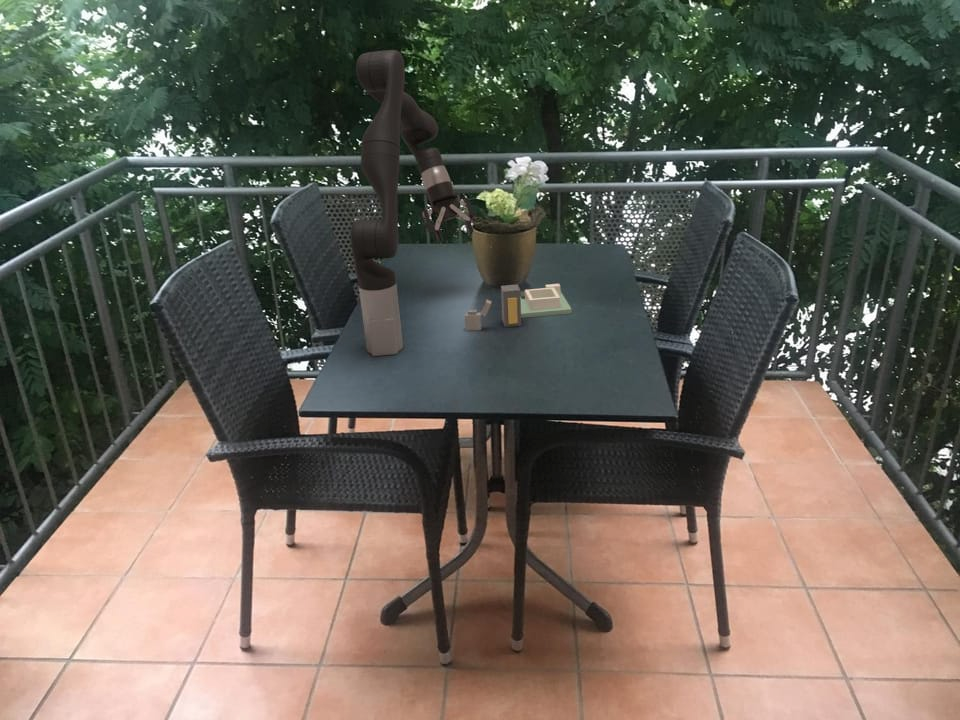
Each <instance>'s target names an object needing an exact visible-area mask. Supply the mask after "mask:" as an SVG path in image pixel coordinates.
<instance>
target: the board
mask: <svg viewBox="0 0 960 720" xmlns="http://www.w3.org/2000/svg"><path fill="white" fill-rule="evenodd" d="M520 299H521V319H523V318H533V317H544V316H545V317H546V316H556V315H557V316H558V315H566V314H567V315H569V314H572V311H573V309H572V307H571V306H570V304H569V302H568V301H567V298H565V296H564V294H563V293H562V291H561V285H560V283H552V284H545V287H543V288H542V287H541V288H532V289H524V290H523V291H520Z"/></svg>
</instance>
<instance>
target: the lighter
mask: <svg viewBox="0 0 960 720" xmlns="http://www.w3.org/2000/svg"><path fill="white" fill-rule="evenodd" d="M491 305H492V300H489V299H486V300H485V302H484V305H483V307H482V308H481V311H480V312H477V309H472V310H471V309H470V310H468V311H467V312H466V313H464V320H465V321H464V322H465V324H464V325H465V331H466V332H468V331H473V330H474V331H482V317H486V316H487V314H488V312H489V309H490V308H491Z"/></svg>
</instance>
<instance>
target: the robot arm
mask: <svg viewBox="0 0 960 720" xmlns="http://www.w3.org/2000/svg"><path fill="white" fill-rule="evenodd" d="M355 67H356V77H357V80H358V83H359V84H360V86H361V88H362V89H363V90H364V91H365V92H366V93H367V94H369V95H370V96H371V97H372V98H373V99H375V101H376V102H378V103H380V104H381V106H380V108H379V110H378V112H377V113H376V115H375V117H374V118H373V119H372V121H371V122H370V123H369V125H368V127H367V128H366V130H365V132H364V133H363V137H362V140H361V148H360V149H361V151H360V152H361V153H360V168H361V171H362V172H363V175H364V176H365V178H366V180H367V181H368V183H369V184H370V186H371V188H372V189H373V191H374V192H375V194H376V197H377V199H378V200H379V203H380V207H381V212H382V213H381V214H382V218H381V219H357V220H355V221H353V223H351V227H350V233H349V234H350V236H349V237H350V238H349V239H350V246H351V251H352V257H353V261H354V262H353V263H354V269H355V275H356V279H357V284H358V285H357V286H358V290H359V298H360V299H359V300H360V307H361V315H362V322H363V330H364V339H365V346H366V352H367V353H369V354H371V355H372V357H376V356H377V357H378V356H379V357H380V356H389V355H397V354H398V352H400V351H401V350H402V349H403V347H404V344H403V335H402V326H401V325H402V324H401V317H400V306H399V296H398V286H397V285H398V284H397V277H396V273H395V271H394V270H393V269H391V268H389V267H386V266H383V265H381V264H379V263H378V262H376V261H375V260H374V259H392V258H395V256H396V255H397V253H398V246H399V219H398V218H399V216H398V215H399V214H398V211H399V210H398V191H399V189H398V188H399V187H398V186H399V172H400V152H401V139H402V140H403V141H404V143H405V145H407V147H408V149H409V150H410V152H411V153H412V155H413V157H414V158H415V161H416V163H417V166H418V169H419V172H420V174H421V177H422V178H421V179H422V183H423V187H424V190H425V192H426V194H427V198H428V200H429V203H430V207H431V209H423V211H422V218H423V221H424V224H425V228H426V232H428V233H432V232H433V233H434V235H435V237H436V241H437V242H438V243H439V244H441V245H444V244H445V239H444V236H443V233H442V231H441V229H440V228H441V227H440V226H441V224H442V221H443V222H447V221H449V220H454V219H455V218H457V219H458V220H461V221H462V222H464V226H465V230H466V231H467V234H468V237H471V236H472V235H473V233H474V227H473V225H472V220H473V219H474V218H475V217H476V212H475V211H474V209H473V206H472V203H471V202H470V199H469V198H468V197H465V198H464V199H461V200H459V199H458V197H457V195H456V193H455V189H454V187H453V184H452V180H451V178H450V175H449V173H448V170H447V168H446V165H445V164H444V161H443V158H442V155H441V152H440V150H439V149H438V148H437V147H426V148H421V147H419V146H420V145H422V144H424V143H427V142H429V141H432V140H434V139H436V137H437V136H438V134H439V126H438V123H437V121H436V119H435V118H434V117H433V116H432V115H431V114H430V113H428V112H426V111H425V110H423V109H421V108H420V107H419V105H418V103H417V102H416V100H415V99H414V98H413V97H412V96H411V95H410V94H408V93H407V92H405V91H404V89H405V80H406V79H405V77H406V74H405V73H406V68H405V67H406V66H405V60H404V57H403V55H402V53H401V52H400V51H398V50H395V49H389V50H388V49H387V50H378V51H370V52H365V53H361V54H360V55H359V56H358V58H357V60H356V66H355ZM460 206H462V207H463V208H465V207H467V208H468V211H469V214H470V215H468V214H467V215H466V214H465V212H464V211H462V210H460ZM432 214H433V216H434V217H436V220H435V221H436V222H435V224H434V226H433V225H432V221H431V217H432Z"/></svg>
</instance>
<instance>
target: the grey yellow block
mask: <svg viewBox="0 0 960 720" xmlns="http://www.w3.org/2000/svg"><path fill="white" fill-rule="evenodd" d="M520 292H521V289H520V286H519V284H507V285H501V286H500V296H501V320H502V323H503V326H504V328H509V327H510V328H511V327H518V326H519V327H520V326H522V318H521V299H520Z"/></svg>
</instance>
